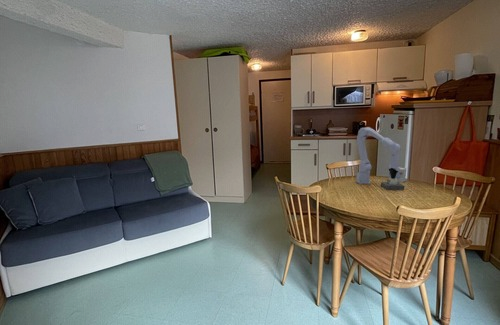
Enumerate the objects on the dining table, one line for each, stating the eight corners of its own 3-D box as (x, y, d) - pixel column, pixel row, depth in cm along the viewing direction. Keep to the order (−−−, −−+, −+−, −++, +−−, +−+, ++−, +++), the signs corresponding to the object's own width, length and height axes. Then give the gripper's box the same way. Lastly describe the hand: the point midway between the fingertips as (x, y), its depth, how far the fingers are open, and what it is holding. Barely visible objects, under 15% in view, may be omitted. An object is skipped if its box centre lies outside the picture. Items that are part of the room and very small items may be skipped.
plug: (387, 187, 200) (388, 179, 199) (385, 185, 203) (386, 178, 202) (396, 187, 199) (397, 179, 198) (394, 185, 203) (395, 178, 202)
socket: (387, 189, 196) (387, 185, 196) (380, 185, 207) (381, 182, 206) (404, 189, 195) (404, 185, 195) (397, 185, 206) (397, 181, 206)
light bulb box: (388, 180, 223) (389, 167, 221) (391, 178, 227) (392, 166, 225) (402, 182, 215) (403, 169, 213) (405, 181, 219) (406, 168, 217)
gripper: (404, 162, 190) (403, 180, 193) (395, 158, 204) (394, 176, 207) (394, 162, 191) (393, 180, 193) (385, 158, 205) (384, 176, 207)
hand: (392, 178), depth 200 cm, fingers closed
